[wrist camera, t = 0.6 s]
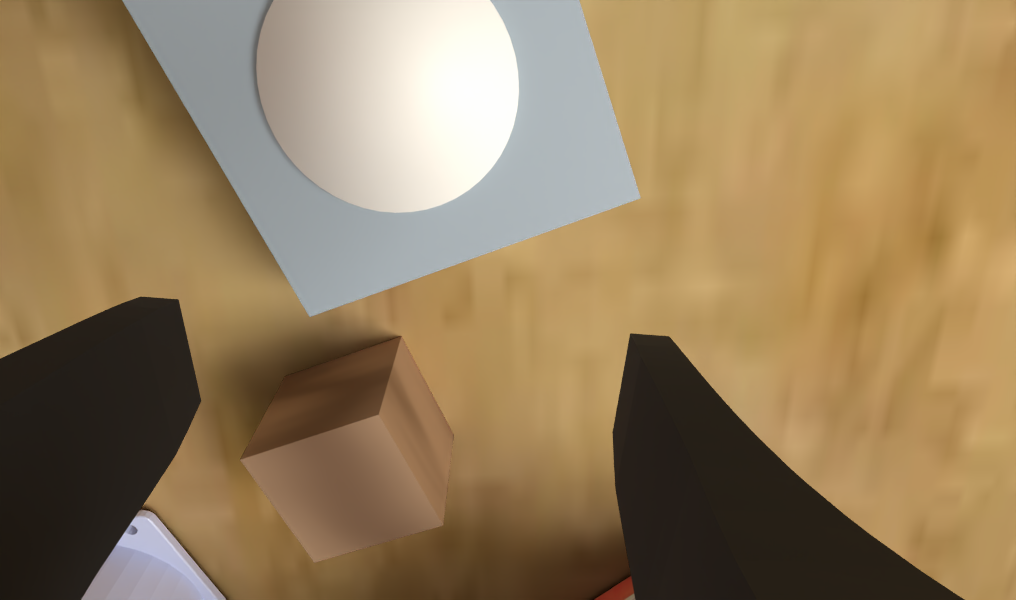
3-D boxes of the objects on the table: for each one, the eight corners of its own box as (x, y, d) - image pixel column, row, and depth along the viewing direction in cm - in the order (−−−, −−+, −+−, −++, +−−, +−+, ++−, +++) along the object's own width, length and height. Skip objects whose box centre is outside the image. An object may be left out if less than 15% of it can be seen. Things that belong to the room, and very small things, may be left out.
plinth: (330, 280, 22) (307, 320, 19) (149, -42, 18) (92, -42, 15) (626, 171, 20) (641, 200, 18) (505, -213, 16) (504, -244, 14)
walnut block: (345, 467, 26) (314, 562, 22) (285, 374, 24) (240, 459, 20) (454, 433, 25) (442, 525, 21) (402, 334, 23) (378, 414, 19)
